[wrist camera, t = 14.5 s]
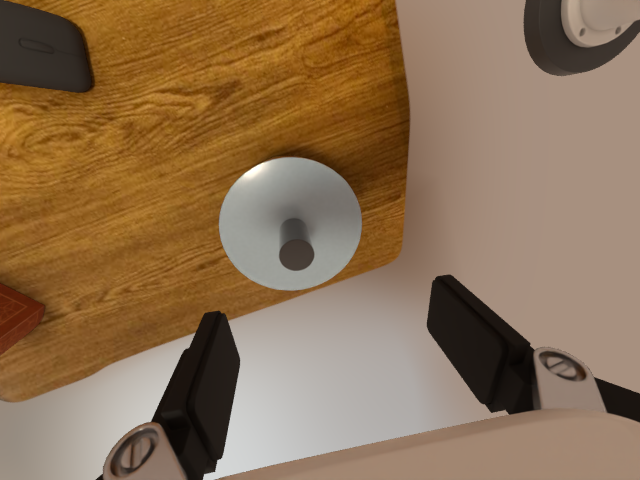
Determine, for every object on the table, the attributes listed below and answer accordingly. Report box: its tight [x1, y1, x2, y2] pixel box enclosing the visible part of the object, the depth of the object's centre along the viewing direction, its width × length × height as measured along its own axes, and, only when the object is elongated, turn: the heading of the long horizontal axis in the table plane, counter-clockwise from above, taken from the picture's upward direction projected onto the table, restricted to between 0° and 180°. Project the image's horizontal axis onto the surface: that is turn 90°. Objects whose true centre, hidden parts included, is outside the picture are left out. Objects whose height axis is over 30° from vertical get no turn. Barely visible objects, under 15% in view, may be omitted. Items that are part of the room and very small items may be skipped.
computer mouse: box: [0, 0, 91, 92], centre depth 22 cm, size 6×11×4 cm, turn 84°
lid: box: [219, 157, 362, 290], centre depth 23 cm, size 15×15×7 cm
